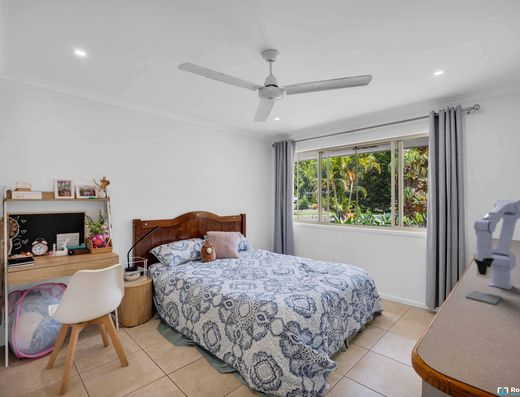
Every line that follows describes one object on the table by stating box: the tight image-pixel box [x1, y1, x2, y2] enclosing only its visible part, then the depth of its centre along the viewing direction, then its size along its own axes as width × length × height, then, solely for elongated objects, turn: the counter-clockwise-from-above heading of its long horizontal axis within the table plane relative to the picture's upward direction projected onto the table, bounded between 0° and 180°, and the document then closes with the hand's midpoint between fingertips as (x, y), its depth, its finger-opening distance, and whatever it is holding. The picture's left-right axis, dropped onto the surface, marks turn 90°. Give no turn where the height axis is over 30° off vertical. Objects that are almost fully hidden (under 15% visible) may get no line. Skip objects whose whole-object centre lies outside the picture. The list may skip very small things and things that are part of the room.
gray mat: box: [465, 290, 503, 306], centre depth 120 cm, size 12×10×1 cm
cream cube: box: [476, 266, 491, 279], centre depth 128 cm, size 4×4×4 cm
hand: (484, 273), depth 128 cm, fingers closed on cream cube, 4 cm apart
